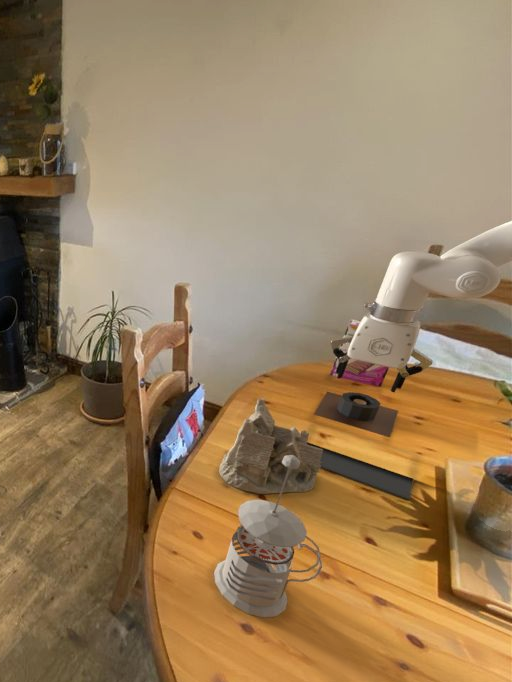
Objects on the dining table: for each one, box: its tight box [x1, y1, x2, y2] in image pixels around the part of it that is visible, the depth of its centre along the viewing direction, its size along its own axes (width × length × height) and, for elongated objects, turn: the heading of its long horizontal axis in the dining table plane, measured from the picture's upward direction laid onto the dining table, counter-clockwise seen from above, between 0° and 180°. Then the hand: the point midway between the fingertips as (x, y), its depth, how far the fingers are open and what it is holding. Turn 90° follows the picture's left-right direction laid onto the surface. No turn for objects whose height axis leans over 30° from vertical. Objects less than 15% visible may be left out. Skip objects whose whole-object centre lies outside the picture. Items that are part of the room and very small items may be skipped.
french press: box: [213, 455, 323, 619], centre depth 57 cm, size 10×12×25 cm
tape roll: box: [337, 391, 381, 421], centre depth 98 cm, size 7×7×4 cm
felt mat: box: [307, 441, 414, 501], centre depth 87 cm, size 18×18×1 cm
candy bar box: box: [329, 318, 390, 388], centre depth 110 cm, size 11×5×16 cm, turn 47°
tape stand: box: [313, 391, 399, 438], centre depth 99 cm, size 14×14×4 cm
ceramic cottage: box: [218, 397, 323, 495], centre depth 81 cm, size 16×16×15 cm
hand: (365, 382), depth 95 cm, fingers open, 9 cm apart
